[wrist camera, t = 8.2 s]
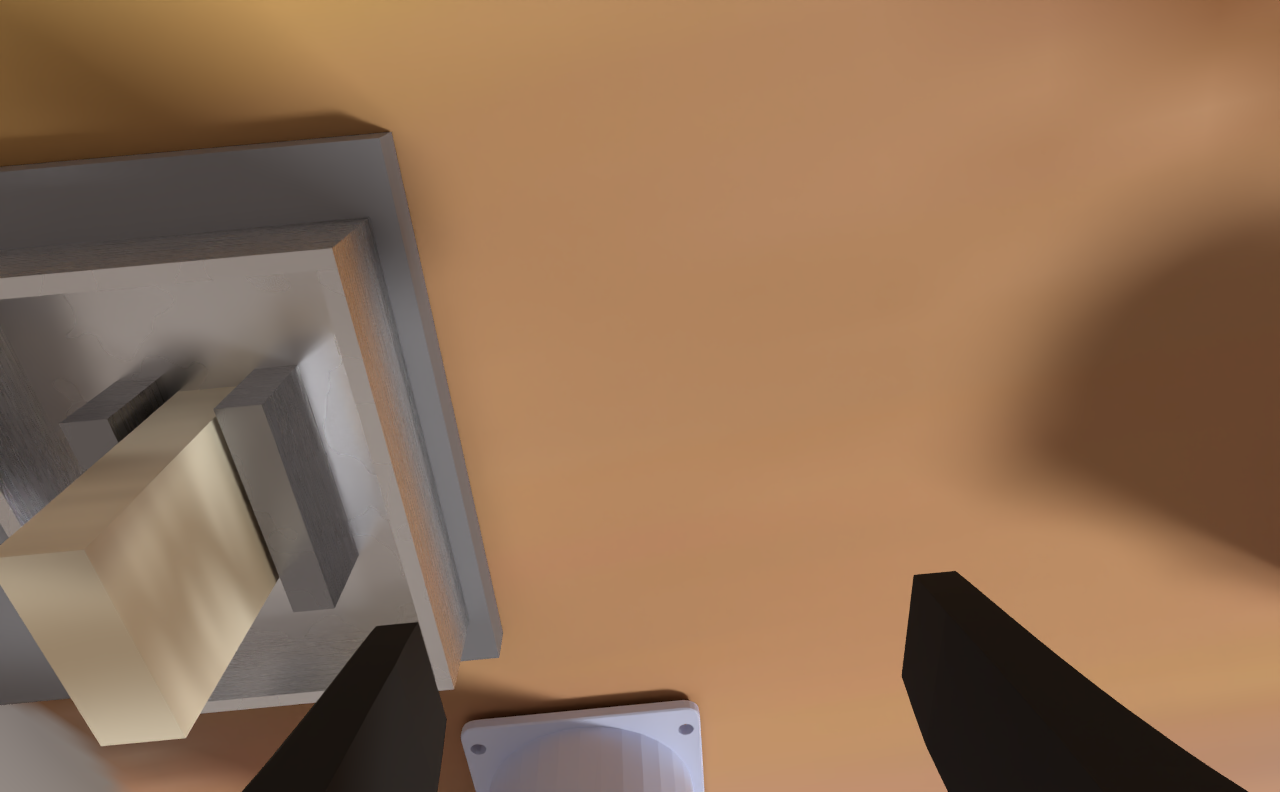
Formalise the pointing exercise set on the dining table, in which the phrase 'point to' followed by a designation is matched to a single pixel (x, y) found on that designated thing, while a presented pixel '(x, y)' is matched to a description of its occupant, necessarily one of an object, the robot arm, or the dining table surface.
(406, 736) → the robot arm
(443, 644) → the grey slotted tray
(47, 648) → the wood wick
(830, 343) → the dining table surface
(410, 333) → the charcoal board
